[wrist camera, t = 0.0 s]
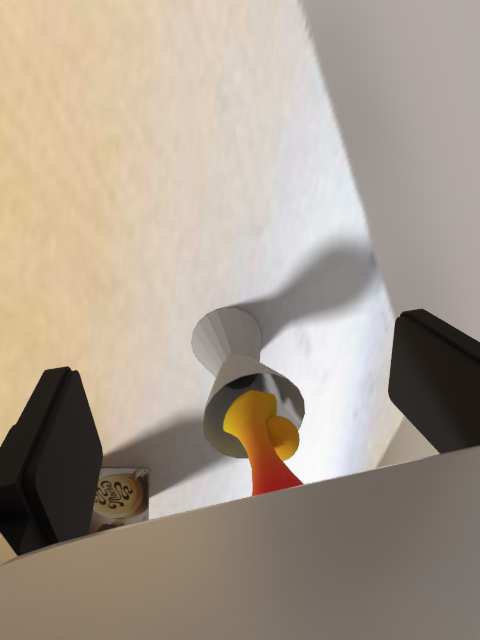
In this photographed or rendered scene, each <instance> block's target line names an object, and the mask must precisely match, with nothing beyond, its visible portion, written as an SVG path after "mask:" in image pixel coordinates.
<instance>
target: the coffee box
mask: <svg viewBox="0 0 480 640" xmlns="http://www.w3.org/2000/svg"><path fill="white" fill-rule="evenodd" d="M149 476H150V469H148V468H101V470H100V475H99V481H98V486H97V491H96V497H95V502H94V507H93V513H92V518H91V523H90V529H89V534H88V535H90V534H94V533H98V532H101V531H105V530H109V529H113V528H117V527H121V526H125V525H130V524H134V523H138V522H143V521H147V520H148V519H149Z"/></svg>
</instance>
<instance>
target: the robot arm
mask: <svg viewBox="0 0 480 640" xmlns="http://www.w3.org/2000/svg"><path fill="white" fill-rule="evenodd" d="M388 394H389V397H390V399H391V401H392V402H393V404H394V405H395V406H396V407H397V408H398V409H399V410H400V411H401V412H402V413H403V414H404V415H405V416H406V417H407V419H409V421H410V422H411V423H412V424H413V425H414V426H415V427H416V428H417V429H418V430H419V431H420V432H421V433H422V435H423V436H424V437H425V438H426V439H427V440H428V441H429V442H430V443H431V444H432V445H433V446H434V448H435V449H436V450H437V451H438V452H439V453H440V454H438V455H434V456H429V457H425V458H421V459H416V460H411V461H406V462H402V463H398V464H393V465H388V466H384V467H379V468H375V469H371V470H366V471H362V472H357V473H353V474H348V475H344V476H339V477H335V478H330V479H326V480H321V481H317V482H313V483H308V484H304V485H299V486H295V487H290V488H286V489H282V490H277V491H273V492H268V493H264V494H260V495H255V496H251V497H247V498H242V499H238V500H234V501H229V502H225V503H221V504H216V505H212V506H208V507H203V508H199V509H195V510H190V511H186V512H182V513H177V514H173V515H169V516H164V517H160V518H156V519H151V520H147V521H143V522H138V523H134V524H130V525H125V526H121V527H117V528H113V529H109V530H105V531H101V532H98V533H94V534H90V535H88V534H89V529H90V523H91V518H92V513H93V507H94V502H95V497H96V491H97V486H98V481H99V475H100V470H101V465H102V459H103V452H102V446H101V442H100V439H99V436H98V433H97V429H96V426H95V423H94V420H93V416H92V413H91V410H90V407H89V403H88V400H87V397H86V394H85V390H84V387H83V384H82V381H81V377H80V374H79V372H78V371H77V370H75V371H71V369H70V367H68V366H67V367H61V368H55V369H48V370H45V371H44V372H43V374H42V376H41V378H40V380H39V382H38V384H37V386H36V388H35V389H34V391H33V393H32V395H31V397H30V399H29V401H28V403H27V404H26V406H25V408H24V410H23V412H22V414H21V416H20V418H19V420H18V421H17V423H16V424H15V425H13V426H12V428H11V429H10V430H9V432H8V434H7V436H6V438H5V440H4V441H3V443H2V445H1V447H0V640H480V342H478V341H477V340H475V339H473V338H471V337H469V336H468V335H466V334H465V333H463V332H461V331H460V330H458V329H456V328H455V327H453V326H451V325H449V324H448V323H446V322H444V321H443V320H441V319H439V318H437V317H436V316H434V315H432V314H431V313H429V312H427V311H426V310H424V309H417V310H411V311H405V312H403V313H401V315H400V317H398V318H397V319H396V321H395V329H394V339H393V348H392V358H391V367H390V377H389V387H388Z"/></svg>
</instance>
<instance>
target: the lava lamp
mask: <svg viewBox="0 0 480 640" xmlns="http://www.w3.org/2000/svg"><path fill="white" fill-rule="evenodd" d="M261 341H262V336H261V328H260V326H259V324H258V322H257V320H256V319H255V318H254V317H253V316H252V315H251V314H250V313H248V312H246V311H244V310H241V309H239V308H231V307H227V308H221V309H216V310H214V311H212V312H210V313H208V314H207V315H205V316H204V317H203V318H202V319H201V320H200V321H199V322H198V324H197V325H196V327H195V329H194V331H193V335H192V341H191V343H192V348H193V353H194V354H195V356H196V357H197V359H198V361H199V362H200V363H201V364H202V365H203V366H204V367H205V368H207V369H208V370H209V371H210V372H211V373H212V374H213V375H214V376H215V377H216V380H215V382H214V385H213V388H212V390H211V393H210V396H209V398H208V401H207V404H206V407H205V412H204V417H203V427H204V432H205V436H206V438H207V439H208V441H209V442H210V444H211V445H212V446H213V447H214V448H215V449H217V450H218V451H220V452H221V453H223V454H225V455H228V456H232V457H235V458H249V461H250V464H251V467H252V481H253V491H252V496H255V495H260V494H264V493H268V492H273V491H277V490H282V489H286V488H290V487H295V486H299V485H304V484H303V483H302V482H301V481H300V480H299V479H298V478H297V477H296V476H295V475H294V474H293V473H292V472H291V471H290V470H289V468H288V467H287V466H286V465H285V463H284V462H283V461H285V460H287V459H289V458H290V457H292V456H293V455H294V454H295V452H296V451H297V449H298V446H299V433H298V430H299V428H300V427H301V424H302V421H303V417H304V414H305V409H304V399H303V397H302V395H301V393H300V391H299V389H298V388H297V387H296V386H295V385H294V384H293V383H292V382H291V381H290V380H288V379H287V378H286V377H285V376H283V375H281V374H279V373H278V372H276V371H274V370H272V369H271V368H269V367H267V366H265V365H263V364H262V363H260V362H259V361H260V351H261Z"/></svg>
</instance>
